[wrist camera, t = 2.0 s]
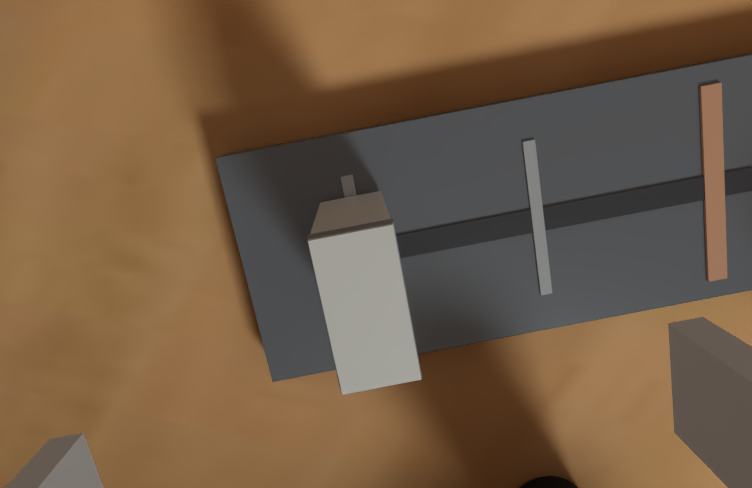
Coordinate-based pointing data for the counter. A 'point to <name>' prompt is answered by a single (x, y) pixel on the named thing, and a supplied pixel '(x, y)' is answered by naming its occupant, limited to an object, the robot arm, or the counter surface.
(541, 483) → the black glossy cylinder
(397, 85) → the counter surface
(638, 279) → the fader console
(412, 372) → the fader knob
